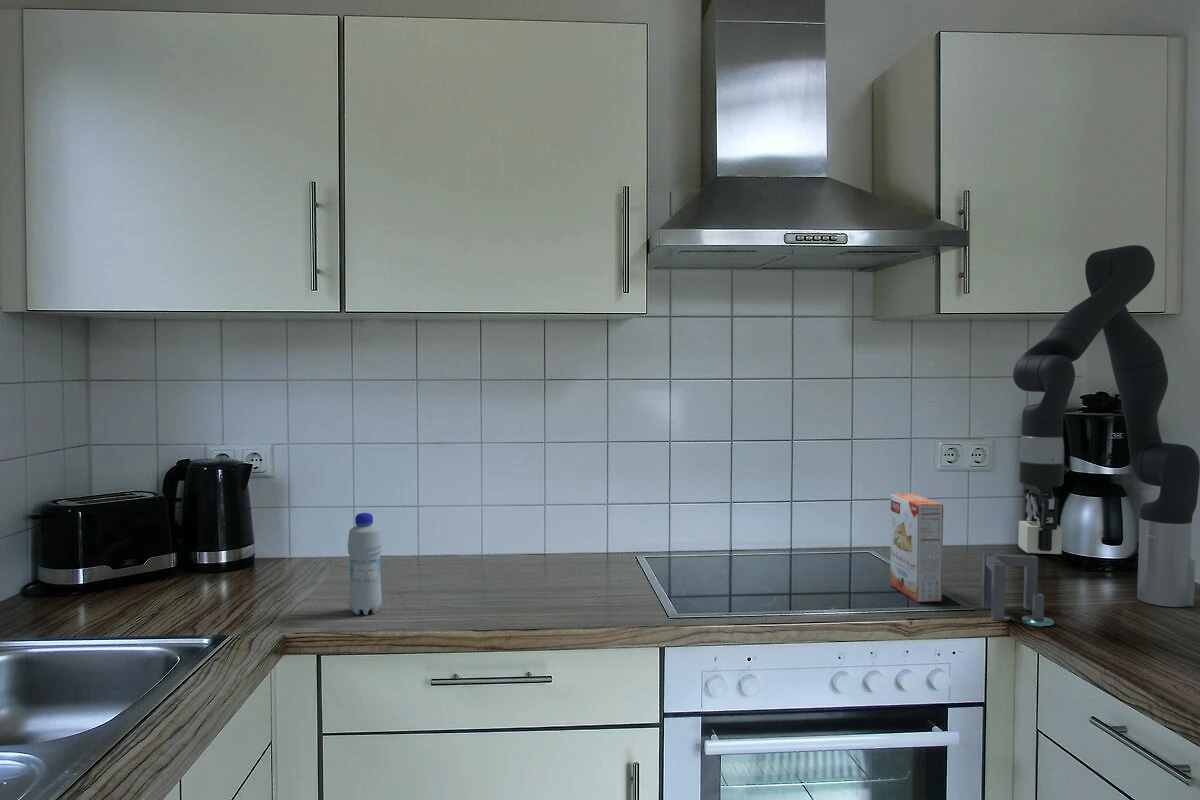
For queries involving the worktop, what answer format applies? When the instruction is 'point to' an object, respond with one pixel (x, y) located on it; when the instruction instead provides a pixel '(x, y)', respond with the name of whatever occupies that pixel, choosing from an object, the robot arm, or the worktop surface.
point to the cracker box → (916, 547)
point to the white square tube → (1030, 538)
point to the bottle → (364, 565)
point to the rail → (996, 581)
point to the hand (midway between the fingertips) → (1039, 546)
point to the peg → (1037, 613)
